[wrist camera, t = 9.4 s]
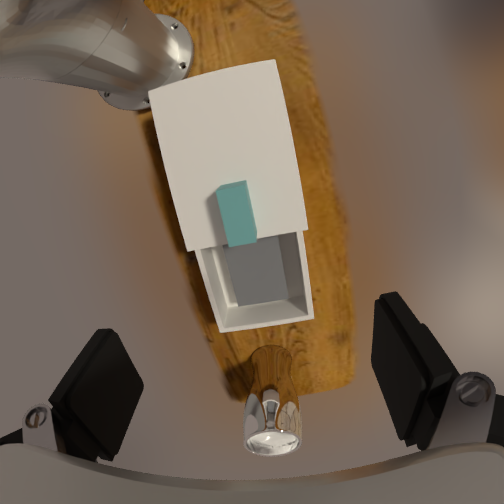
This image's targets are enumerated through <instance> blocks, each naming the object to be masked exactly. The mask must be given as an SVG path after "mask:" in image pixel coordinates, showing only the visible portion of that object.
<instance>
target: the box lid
mask: <svg viewBox="0 0 504 504" xmlns="http://www.w3.org/2000/svg"><path fill="white" fill-rule="evenodd" d="M148 94H149V99H150V104H151V109H152V114H153V118H154V123H155V128H156V132H157V137H158V141H159V145H160V150H161V154H162V158H163V162H164V166H165V171H166V175H167V179H168V183H169V186H170V190H171V194H172V198H173V202H174V206H175V209H176V213H177V217H178V220H179V224H180V227H181V231H182V234H183V238H184V241H185V245H186V248H187V252H188V251H193V250H198V249H204V248H209V247H214V246H220V245H225V244H228V245H229V247H233V246H239V245H244V244H250V243H255V242H257V239H258V238H263V237H269V236H275V235H280V234H286V233H291V232H297V231H303V230H308V225H307V218H306V212H305V206H304V199H303V193H302V187H301V182H300V176H299V170H298V165H297V159H296V154H295V149H294V143H293V138H292V133H291V128H290V123H289V119H288V114H287V109H286V104H285V100H284V95H283V91H282V87H281V82H280V78H279V74H278V70H277V65H276V61H275V59H273V60H267V61H261V62H255V63H250V64H245V65H240V66H235V67H230V68H226V69H221V70H217V71H213V72H209V73H205V74H202V75H198V76H194V77H191V78H187V79H184V80H180V81H177V82H174V83H171V84H168V85H165V86H162V87H159V88H156V89H153V90H150V91H148Z"/></svg>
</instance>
